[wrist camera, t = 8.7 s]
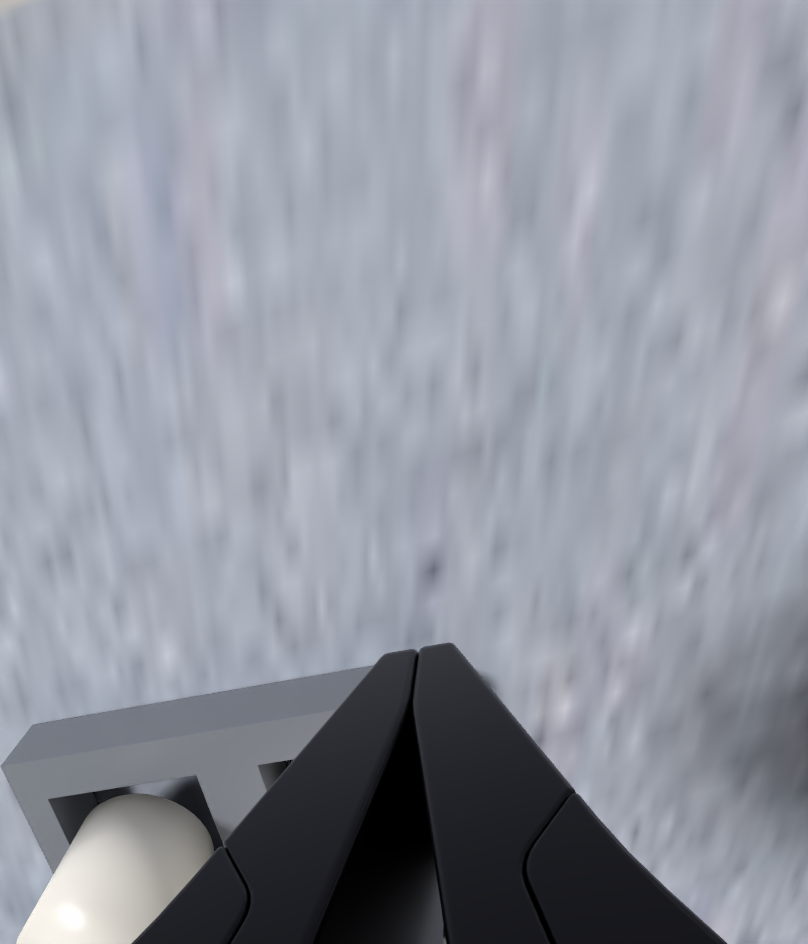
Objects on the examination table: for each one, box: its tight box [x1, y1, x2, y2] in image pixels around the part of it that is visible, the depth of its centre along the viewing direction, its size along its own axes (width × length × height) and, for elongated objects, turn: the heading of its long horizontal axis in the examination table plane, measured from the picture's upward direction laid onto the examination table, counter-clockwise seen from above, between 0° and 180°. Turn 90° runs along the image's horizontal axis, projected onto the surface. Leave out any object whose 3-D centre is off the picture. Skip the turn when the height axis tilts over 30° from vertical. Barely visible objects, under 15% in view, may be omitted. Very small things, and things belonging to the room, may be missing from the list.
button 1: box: [16, 794, 214, 944], centre depth 22 cm, size 4×4×4 cm
